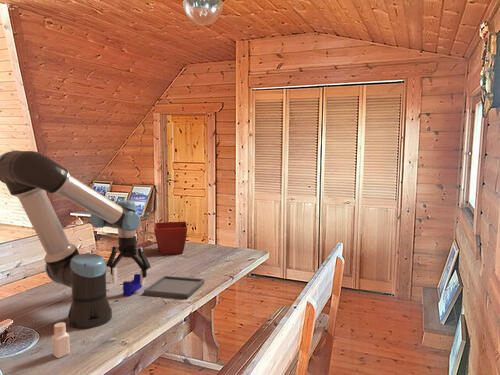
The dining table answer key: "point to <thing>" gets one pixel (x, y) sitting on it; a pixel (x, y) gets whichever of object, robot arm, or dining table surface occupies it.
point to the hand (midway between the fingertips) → (128, 283)
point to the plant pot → (170, 237)
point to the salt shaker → (60, 341)
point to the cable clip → (131, 286)
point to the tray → (174, 287)
